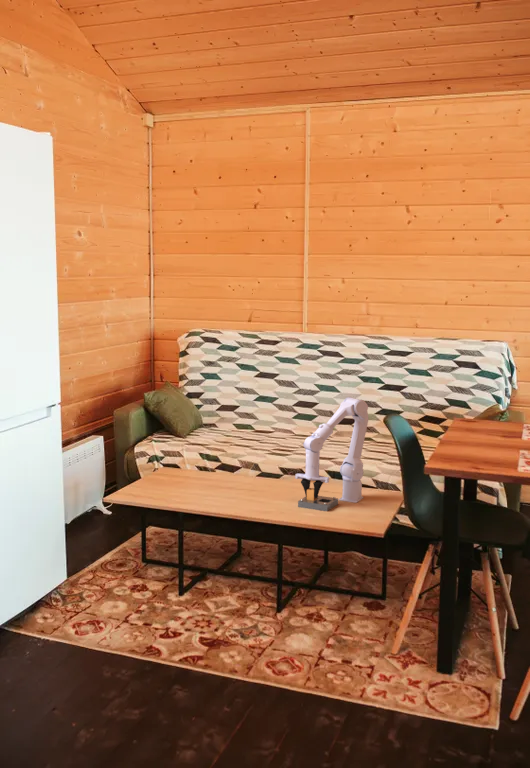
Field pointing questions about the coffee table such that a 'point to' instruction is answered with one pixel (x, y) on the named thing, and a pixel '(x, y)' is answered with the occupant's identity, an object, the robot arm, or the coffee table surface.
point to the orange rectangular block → (310, 494)
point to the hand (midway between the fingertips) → (311, 497)
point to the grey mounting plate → (319, 503)
